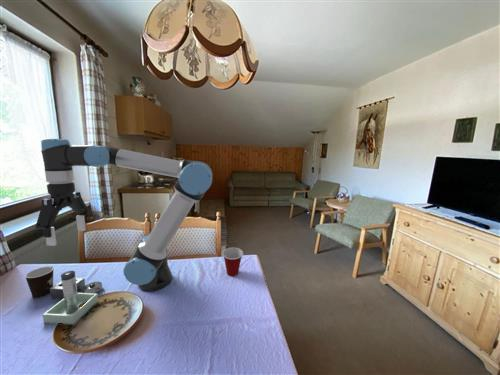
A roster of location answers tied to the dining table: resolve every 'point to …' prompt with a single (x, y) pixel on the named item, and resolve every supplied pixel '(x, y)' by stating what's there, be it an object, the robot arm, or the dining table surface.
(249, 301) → the dining table surface
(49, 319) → the tray
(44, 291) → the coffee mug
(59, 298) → the block
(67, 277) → the clear bottle
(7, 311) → the dining table surface
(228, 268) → the plastic cup
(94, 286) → the pulley wheel
